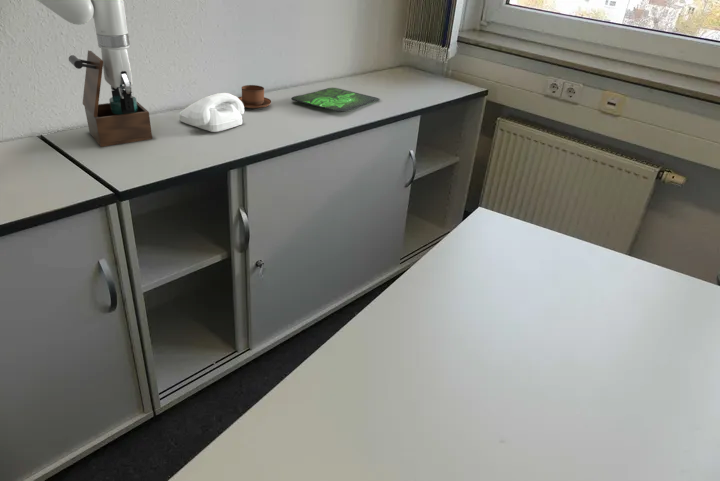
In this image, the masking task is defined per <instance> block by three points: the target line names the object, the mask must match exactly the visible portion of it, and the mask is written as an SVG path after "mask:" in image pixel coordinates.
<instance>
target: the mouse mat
mask: <svg viewBox="0 0 720 481" xmlns="http://www.w3.org/2000/svg"><path fill="white" fill-rule="evenodd" d="M290 99H291V100H292V101H293V102H297V103H302V104H306V105H310V106H313V107H317V108H320V109H325V110H329V111H332V112H337V113H342V112H347V111H351V110H354V109H357V108H360V107H363V106H366V105H369V104H372V103H374V102H377V101H380V100H381V99H380V98H379V97H375V96H371V95H366V94H363V93H359V92H355V91H351V90H346V89H342V88H339V87H338V88H337V87H328V88H324V89H322V90H318V91H317V90H316V91H313V92H308V93H305V94H299V95H295V96H291V97H290Z"/></svg>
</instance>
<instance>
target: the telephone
mask: <svg viewBox="0 0 720 481" xmlns="http://www.w3.org/2000/svg"><path fill="white" fill-rule="evenodd" d="M244 113H245V107H244V105H243V103H242V101H240V100H239V99H238V96H236V95H234V94H231V93H229V92H219V93H213V94H211V95H207V96H203V97H202V98H200V99H197V100H195V101H193V102H192V103H190V104H189V105H188V106H186V107H185V108H183V109H181V111H180V112H179V122H182V123H185V124H187V125H189V126H193V127H196V128H199V129H201V130H205V131H208V132H211V133H218V132H222V131H226V130H229V129H232V128H236V127H239V126H241V125H242V124H243V116H242V115H244Z"/></svg>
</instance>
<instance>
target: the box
mask: <svg viewBox="0 0 720 481" xmlns="http://www.w3.org/2000/svg"><path fill="white" fill-rule="evenodd" d="M83 106H84V105H83ZM137 108H138V111H137V112H136V113H129V114H121V115H118V114H114V113H112V112H111V107H110V102H105V103H99V104H98V112H97V117H94V116H93V115H92V114H91V113H90V112H89V111H88V110H87V108H86V107H85V106H84V112H85V116H86V122H87V126H88V131H89V132H88V133H89V135H91V136H92V138H93V139H94V141H95V142H96V143H97V144H98V145H99V147H101V148H104V147H110V146H115V145H122V144H129V143H135V142H142V141H148V140H153V134H152V126H151V119H150V111H149V110H148V109H147V108H145V107H144V106H143V105H142V104H141V103H139V102H138V101H137Z"/></svg>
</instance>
